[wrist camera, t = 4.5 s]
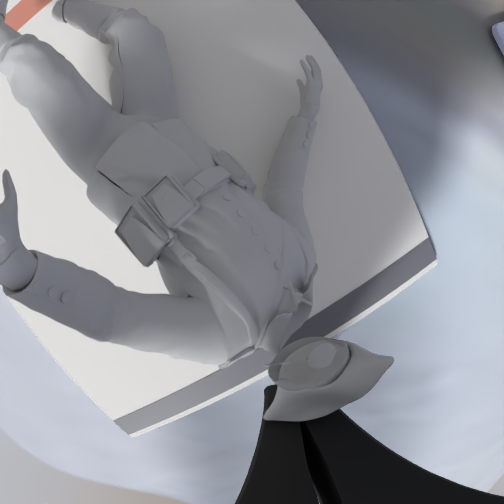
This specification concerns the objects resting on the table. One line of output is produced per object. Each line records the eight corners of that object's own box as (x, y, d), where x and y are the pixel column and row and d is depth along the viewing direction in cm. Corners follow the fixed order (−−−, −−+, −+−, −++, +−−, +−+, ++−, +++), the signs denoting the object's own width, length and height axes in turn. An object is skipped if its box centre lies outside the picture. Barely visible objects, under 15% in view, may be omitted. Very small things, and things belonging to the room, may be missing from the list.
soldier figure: (172, -45, 7) (502, 215, 6) (134, 66, 10) (373, 300, 9) (-78, -4, 2) (393, 631, 1) (-59, 142, 5) (209, 525, 5)
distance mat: (434, 261, 9) (438, 263, 9) (133, 434, 10) (132, 437, 10) (135, -137, 4) (134, -139, 4) (-84, 38, 5) (-87, 37, 4)
